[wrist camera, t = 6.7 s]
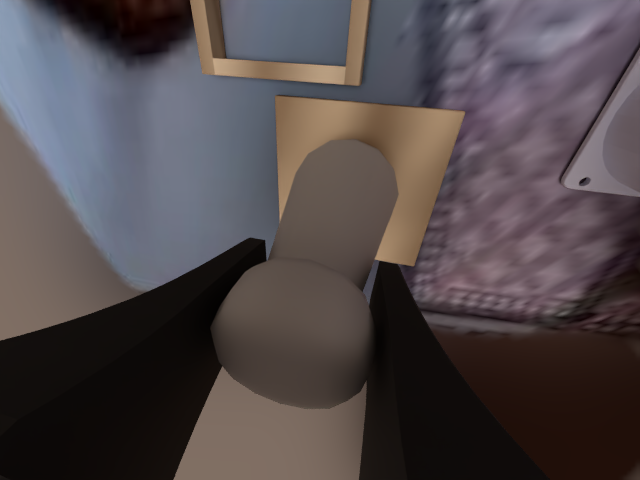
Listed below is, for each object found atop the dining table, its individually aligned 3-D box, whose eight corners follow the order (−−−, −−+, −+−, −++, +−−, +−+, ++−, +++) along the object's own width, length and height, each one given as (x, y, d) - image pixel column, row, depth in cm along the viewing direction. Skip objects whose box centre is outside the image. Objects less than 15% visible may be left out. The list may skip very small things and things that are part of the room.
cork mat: (462, 110, 15) (465, 111, 14) (413, 261, 21) (413, 266, 20) (278, 95, 16) (275, 95, 16) (282, 239, 22) (280, 243, 22)
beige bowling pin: (357, 231, 19) (313, 450, 8) (290, 184, 18) (147, 366, 7) (418, 168, 15) (474, 408, 5) (340, 106, 14) (202, 239, 4)
